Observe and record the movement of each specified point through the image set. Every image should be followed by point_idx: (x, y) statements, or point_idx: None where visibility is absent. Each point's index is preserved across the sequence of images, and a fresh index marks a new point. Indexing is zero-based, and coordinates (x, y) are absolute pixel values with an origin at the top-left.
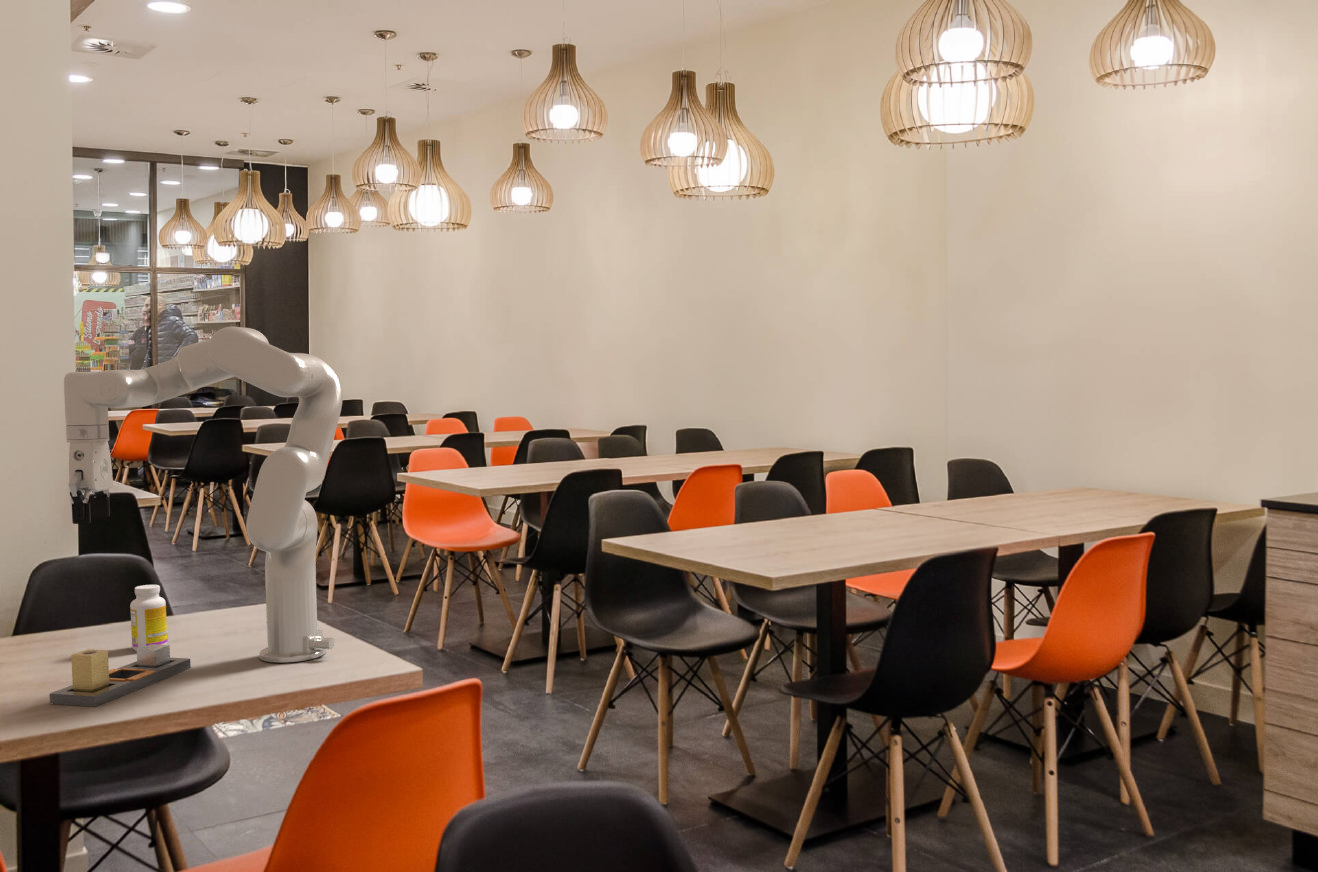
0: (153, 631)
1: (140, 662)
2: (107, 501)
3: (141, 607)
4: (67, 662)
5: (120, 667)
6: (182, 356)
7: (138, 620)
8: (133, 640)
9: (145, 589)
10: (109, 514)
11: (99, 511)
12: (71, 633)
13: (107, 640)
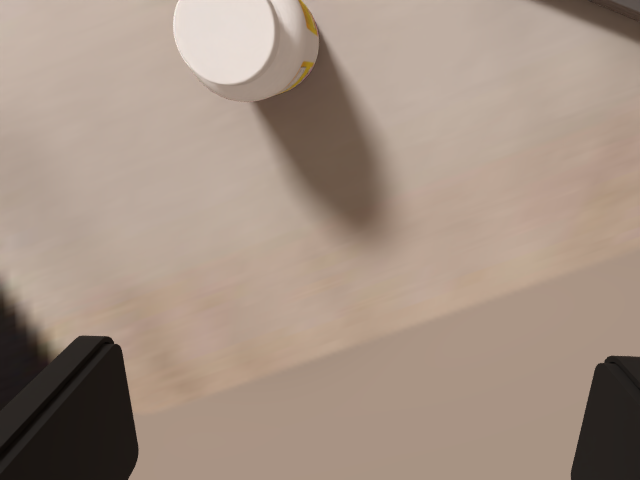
0: (306, 8)
1: None
2: (8, 463)
3: (306, 39)
4: (394, 217)
5: (622, 3)
6: None
7: (308, 55)
8: (302, 80)
9: (274, 20)
10: (85, 342)
11: (105, 447)
12: (89, 315)
13: (167, 201)
